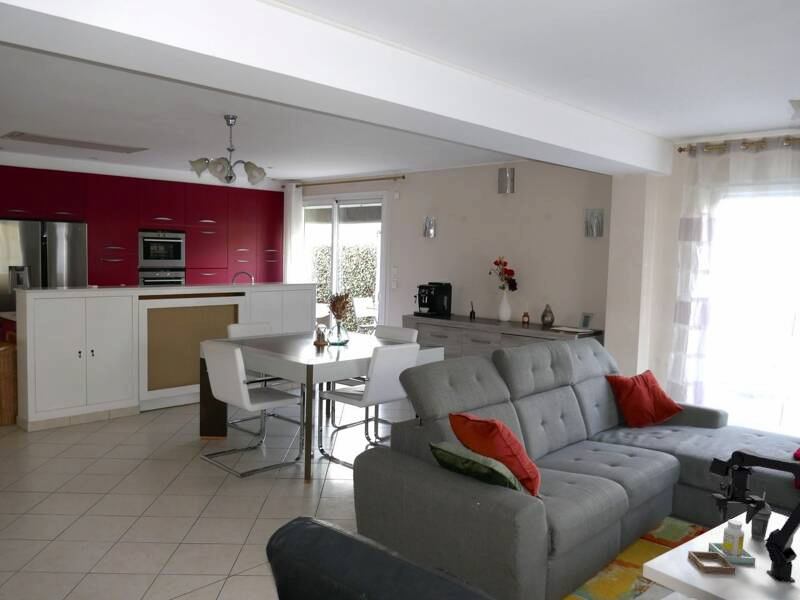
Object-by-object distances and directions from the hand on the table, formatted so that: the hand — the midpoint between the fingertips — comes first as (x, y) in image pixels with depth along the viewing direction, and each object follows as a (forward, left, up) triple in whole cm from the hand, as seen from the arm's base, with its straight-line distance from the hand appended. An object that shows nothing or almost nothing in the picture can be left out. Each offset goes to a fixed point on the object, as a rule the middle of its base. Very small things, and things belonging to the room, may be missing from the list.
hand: (734, 523), depth 238 cm
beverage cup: (+16, -20, -13) cm, 29 cm away
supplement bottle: (0, 0, -13) cm, 13 cm away
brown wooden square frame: (-8, +12, -13) cm, 19 cm away
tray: (0, 0, -13) cm, 13 cm away
